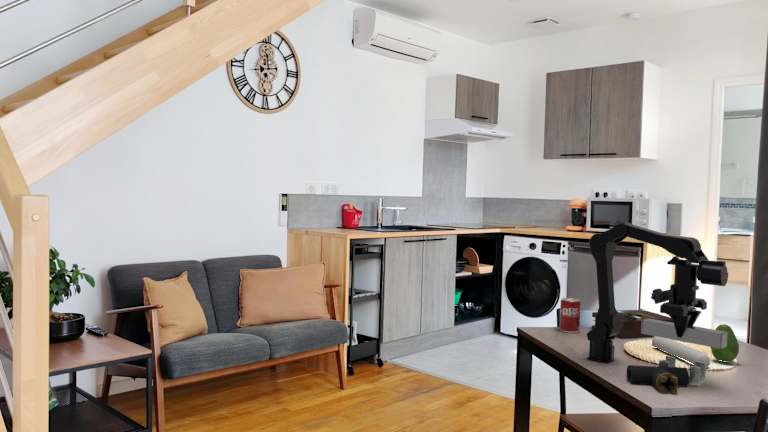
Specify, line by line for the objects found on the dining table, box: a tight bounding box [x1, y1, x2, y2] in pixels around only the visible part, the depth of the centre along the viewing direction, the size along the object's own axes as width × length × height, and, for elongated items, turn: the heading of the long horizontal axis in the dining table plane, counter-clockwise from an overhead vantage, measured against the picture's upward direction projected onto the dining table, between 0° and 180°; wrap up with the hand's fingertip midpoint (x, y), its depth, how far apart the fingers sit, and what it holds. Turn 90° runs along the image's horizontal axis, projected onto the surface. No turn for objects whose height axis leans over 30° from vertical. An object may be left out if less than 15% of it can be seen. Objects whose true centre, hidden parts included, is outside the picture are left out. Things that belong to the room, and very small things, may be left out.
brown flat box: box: [591, 310, 674, 340], centre depth 235 cm, size 19×8×30 cm
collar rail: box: [658, 355, 707, 387], centre depth 176 cm, size 11×8×5 cm
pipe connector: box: [626, 364, 689, 394], centre depth 168 cm, size 12×5×15 cm
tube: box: [651, 336, 711, 368], centre depth 199 cm, size 5×5×25 cm
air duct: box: [641, 318, 727, 349], centre depth 177 cm, size 22×4×4 cm, turn 44°
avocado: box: [710, 324, 740, 362], centre depth 196 cm, size 8×8×12 cm
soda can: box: [559, 297, 582, 334], centre depth 234 cm, size 7×7×12 cm
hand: (682, 336), depth 177 cm, fingers closed on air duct, 4 cm apart
